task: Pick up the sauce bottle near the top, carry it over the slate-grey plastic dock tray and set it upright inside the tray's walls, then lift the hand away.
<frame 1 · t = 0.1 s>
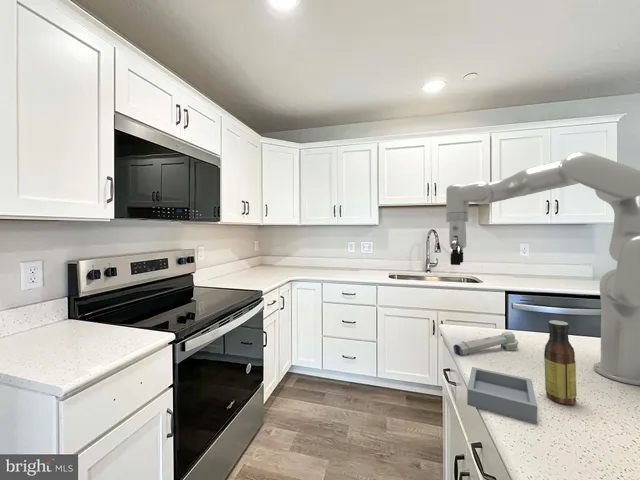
hand: (457, 263, 109), 31 cm above the countertop, tool pointing down, fingers open, 9 cm apart
electric cleaning brush: (486, 352, 105), on the countertop
sauce bottle: (559, 399, 75), on the countertop
dock: (500, 399, 75), on the countertop
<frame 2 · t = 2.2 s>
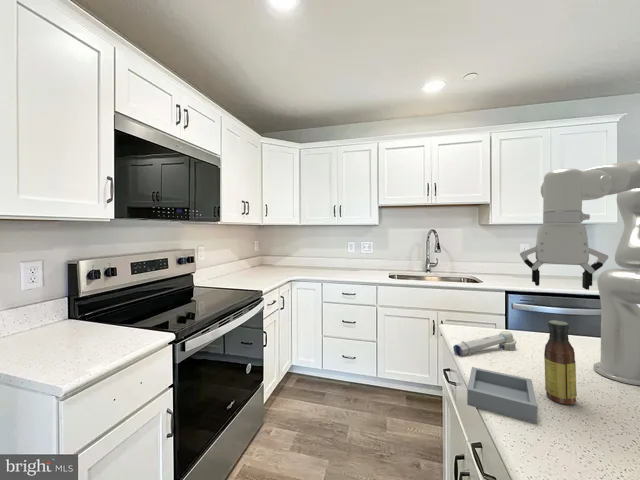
hand: (560, 286, 74), 29 cm above the countertop, tool pointing down, fingers open, 9 cm apart
nothing on the countertop moved.
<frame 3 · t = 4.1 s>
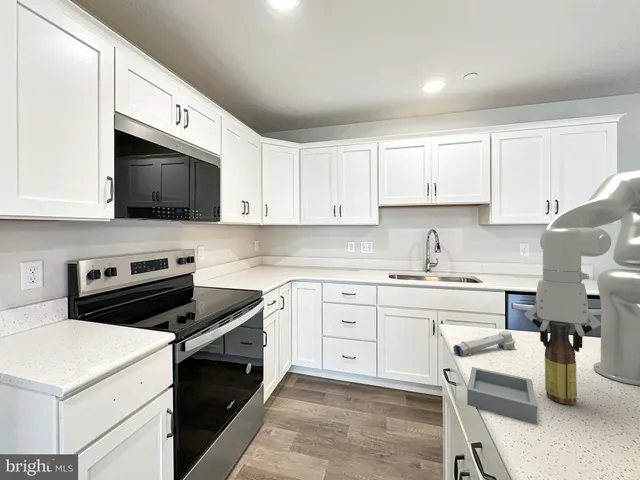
hand: (560, 346, 74), 14 cm above the countertop, tool pointing down, fingers closed on sauce bottle, 5 cm apart
sauce bottle: (559, 399, 75), on the countertop, touching gripper
everything else where it was.
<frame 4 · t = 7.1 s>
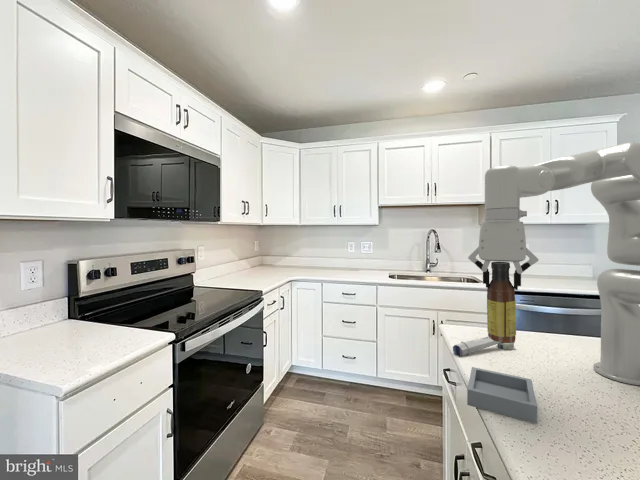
hand: (501, 287, 74), 29 cm above the countertop, tool pointing down, fingers closed on sauce bottle, 5 cm apart
sauce bottle: (500, 340, 74), point 15 cm above the countertop, touching gripper
everything else where it was.
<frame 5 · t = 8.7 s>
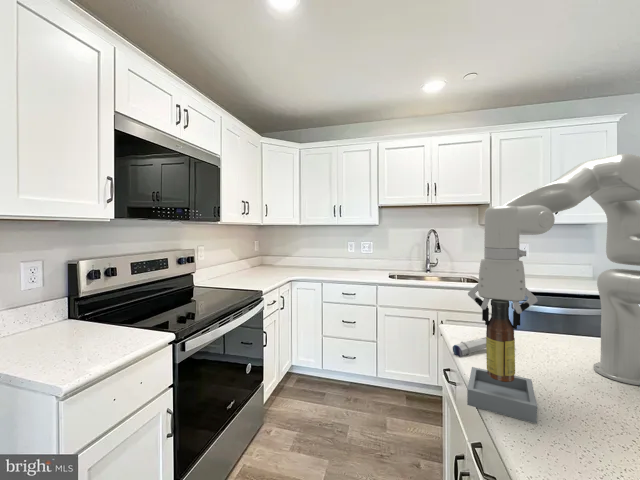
hand: (500, 325, 74), 19 cm above the countertop, tool pointing down, fingers closed on sauce bottle, 5 cm apart
sauce bottle: (499, 377, 75), point 6 cm above the countertop, touching gripper
everything else where it was.
when the fingers open (15 cm above the countertop, at t = 10.0 s): sauce bottle stays where it is, resting on dock.
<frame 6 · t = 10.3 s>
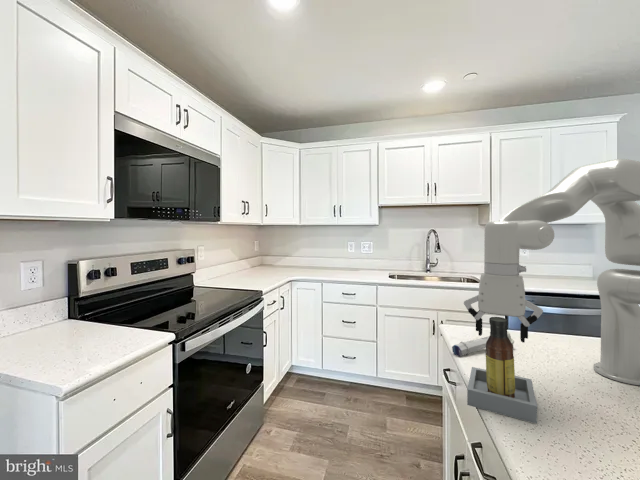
hand: (500, 337, 74), 16 cm above the countertop, tool pointing down, fingers open, 8 cm apart
sauce bottle: (499, 395, 75), point 1 cm above the countertop, touching dock
everything else where it was.
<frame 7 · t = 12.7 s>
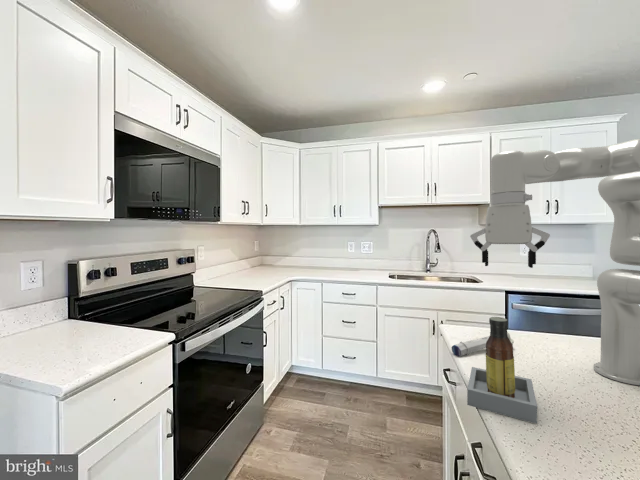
hand: (507, 266, 76), 34 cm above the countertop, tool pointing down, fingers open, 9 cm apart
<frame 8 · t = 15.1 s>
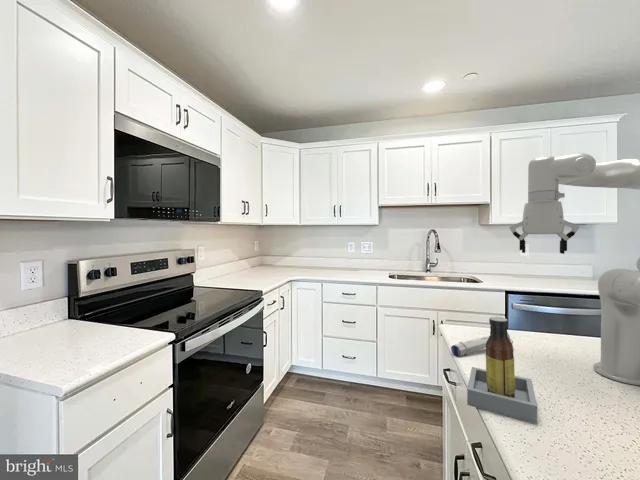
hand: (542, 252, 91), 36 cm above the countertop, tool pointing down, fingers open, 9 cm apart
at the end: sauce bottle inside the target area on the dock (0.1 cm from its centre), point 0.8 cm above the dock's base; sauce bottle tilted 0°; the gripper is holding nothing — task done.
